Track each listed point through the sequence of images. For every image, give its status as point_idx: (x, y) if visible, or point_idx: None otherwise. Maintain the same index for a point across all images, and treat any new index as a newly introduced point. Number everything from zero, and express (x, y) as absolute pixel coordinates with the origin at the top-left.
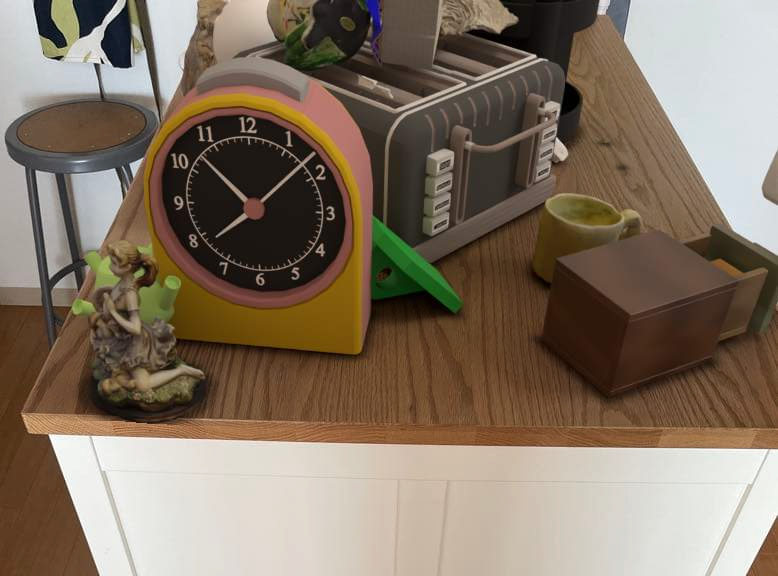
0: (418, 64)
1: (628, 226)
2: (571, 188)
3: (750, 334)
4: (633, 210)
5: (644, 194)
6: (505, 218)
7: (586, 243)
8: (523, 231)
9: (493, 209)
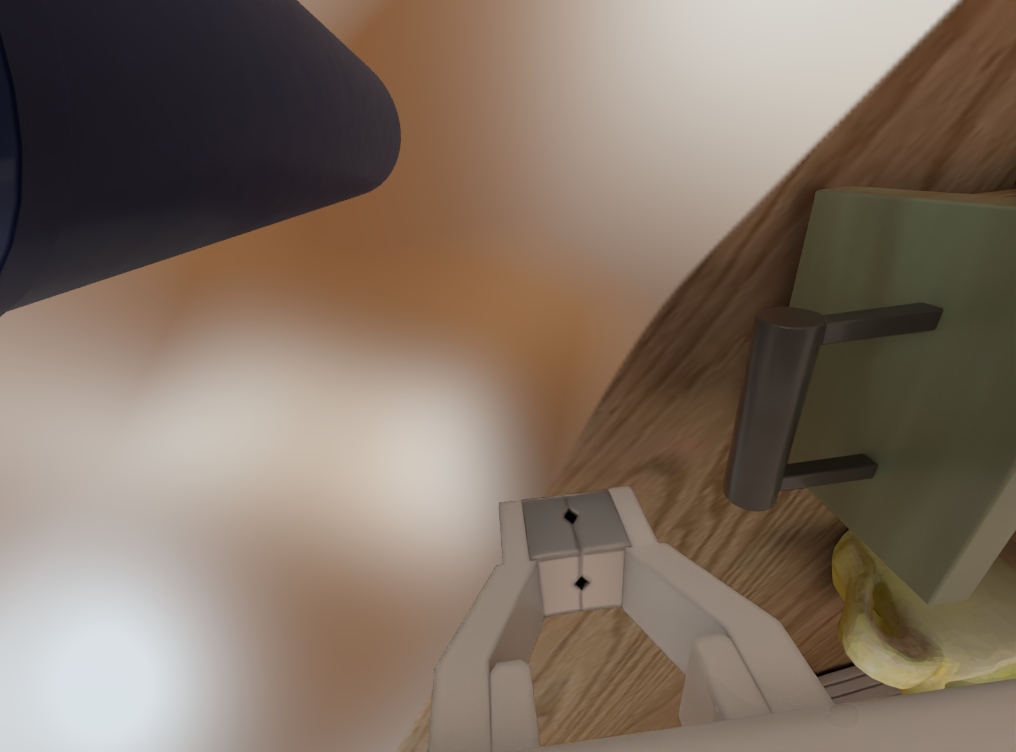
0: None
1: (904, 637)
2: (640, 726)
3: (802, 225)
4: (892, 684)
5: (537, 704)
6: (839, 682)
7: None
8: (821, 652)
9: None
